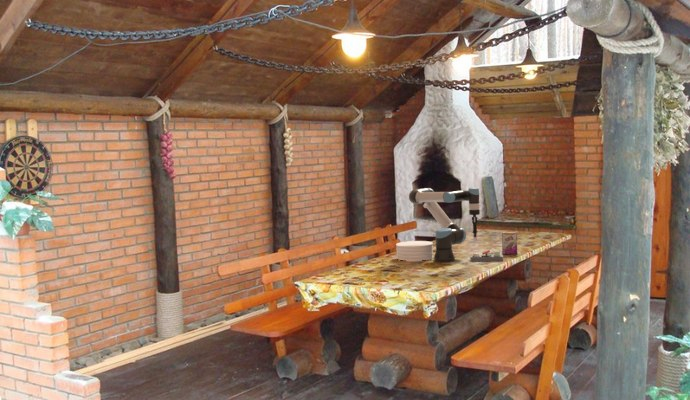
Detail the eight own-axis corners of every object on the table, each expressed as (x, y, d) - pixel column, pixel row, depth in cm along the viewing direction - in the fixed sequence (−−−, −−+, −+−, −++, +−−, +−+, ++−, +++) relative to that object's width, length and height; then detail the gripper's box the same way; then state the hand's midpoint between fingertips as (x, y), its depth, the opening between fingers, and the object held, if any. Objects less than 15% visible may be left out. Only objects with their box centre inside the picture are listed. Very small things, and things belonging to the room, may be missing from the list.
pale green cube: (494, 257, 489) (494, 251, 489) (494, 256, 492) (494, 250, 492) (499, 256, 488) (499, 251, 488) (499, 256, 492) (499, 250, 491)
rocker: (483, 255, 490) (482, 253, 490) (483, 254, 494) (482, 252, 494) (490, 253, 489) (489, 250, 489) (490, 252, 493) (489, 249, 493)
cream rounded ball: (473, 259, 492) (473, 253, 492) (473, 258, 496) (473, 253, 495) (478, 259, 491) (478, 253, 491) (478, 258, 495) (478, 252, 495)
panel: (470, 261, 490) (470, 255, 490) (470, 259, 498) (470, 253, 498) (503, 260, 486) (502, 254, 485) (502, 258, 494) (502, 253, 493)
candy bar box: (502, 254, 514) (501, 232, 513) (502, 253, 519) (501, 231, 517) (517, 254, 511) (516, 232, 510) (517, 253, 516) (517, 231, 514)
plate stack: (432, 261, 499) (431, 246, 498) (394, 261, 505) (393, 246, 504) (434, 255, 526) (434, 240, 526) (399, 255, 532) (398, 241, 531)
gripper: (479, 210, 484) (480, 242, 485) (479, 208, 496) (480, 240, 498) (468, 210, 485) (469, 242, 487) (469, 208, 498) (470, 240, 500)
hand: (475, 241), depth 493 cm, fingers closed
